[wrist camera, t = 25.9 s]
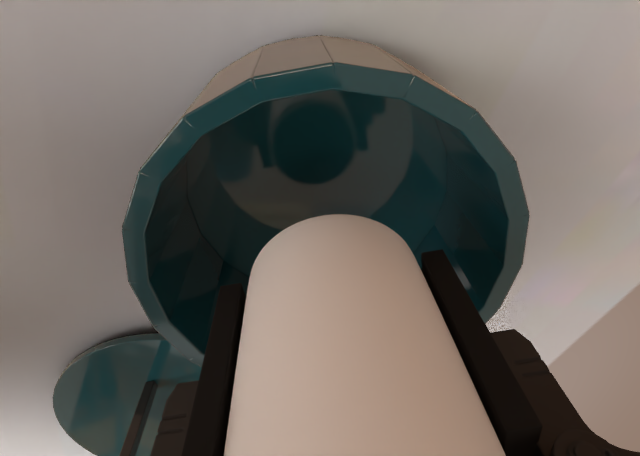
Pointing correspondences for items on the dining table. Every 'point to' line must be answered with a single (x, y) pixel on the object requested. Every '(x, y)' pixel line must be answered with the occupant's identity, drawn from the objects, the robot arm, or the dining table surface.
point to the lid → (120, 393)
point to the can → (349, 352)
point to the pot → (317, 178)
